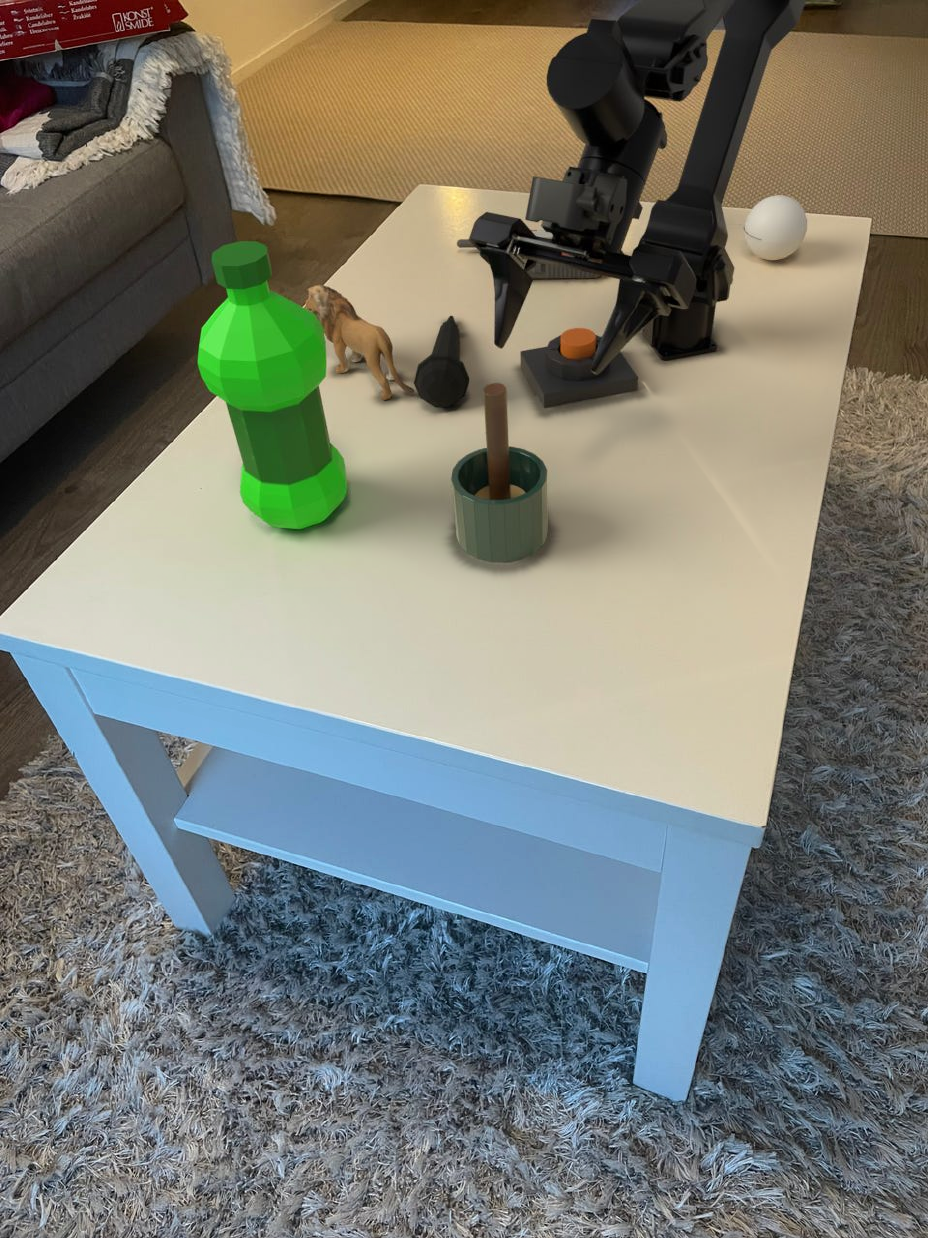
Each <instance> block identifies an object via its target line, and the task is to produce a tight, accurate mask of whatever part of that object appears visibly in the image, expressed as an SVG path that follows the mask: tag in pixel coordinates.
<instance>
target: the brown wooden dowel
mask: <svg viewBox="0 0 928 1238" xmlns="http://www.w3.org/2000/svg"><path fill="white" fill-rule="evenodd" d="M482 393H483V407H484V409H483V410H484V424H485V441H486V448H487V460H488V477H489V486H487V487H484V488H482V489H481V490H479V491H478V492H477V493H476V494H475V496H476V497H478V498H483V499H488V500H505V499H510V498H515V497H518V496H520V495H522V494H525V491H524V490H522V489H521V488H519V487H517V486H515V485H511V484H510V465H509V446H510V444H509V442H510V441H509V419H508V417H509V415H508V393H507V387H506V386H505V385H504V383H503V384H502V383H500V382H492V383H489V384H488V383H487V384H486V385H485V386H484V387H483V389H482Z"/></svg>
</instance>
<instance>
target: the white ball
mask: <svg viewBox="0 0 928 1238" xmlns="http://www.w3.org/2000/svg"><path fill="white" fill-rule="evenodd" d="M734 226H737V224H730V225H727V224H726V227H734ZM739 226H742V223H741V224H740V223H739ZM743 231H744V241H745V244H746V245H747V248H748V249H749V250H750V251H751V252H752V253H753V254H754V255H755V256H756V257H758V258H759V259H763V260H767V261H777V260H782V259H783V260H784V259H786V258H787V257H789V256H790V255H792V254H793V253H794V252H797V250H798V249H799V247H800V246H801V245H802V243H803V242H804V239H805V237H806V234H807V232H808V217H807V215H806V212H805V209H804V207H803V206H802V205H801V203H799V202H798V200H796V199H794V198H793V197H790V196H787V195H783V194H777V195H776V194H775V195H771V196H768V197H765V198H764V199H762V200H761V201H759V202H757V204H755V205H754V206H753V208H751V210H750V212H749V213H748V215H747V216H746V220H745V222H744V226H743Z"/></svg>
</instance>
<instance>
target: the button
mask: <svg viewBox="0 0 928 1238" xmlns="http://www.w3.org/2000/svg"><path fill="white" fill-rule="evenodd" d="M560 335H561V355H562V356H564V357H566V358H570V359H584V358H589V357H591V356H593V355H594V354H595V352H596V335H597V334H596V333H595V332H594V331H593V330H591V329H589V328H585V327H584V328H583V327H574V328H573V327H572V328H570V329H569V328H568V329H567V330H565V331H564V332H562V333H561V334H560Z"/></svg>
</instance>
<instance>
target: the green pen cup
mask: <svg viewBox="0 0 928 1238" xmlns="http://www.w3.org/2000/svg"><path fill="white" fill-rule="evenodd" d="M509 465H510V484H511V485H515V486H517V487H519V488H521V489H522V490H524V491H525V494H522V495H520V496H518V497H515V498H510V499H505V500H488V499H483V498H478V497H476V496H475V494H476V493H477V492H478V491H479V490H481V489H482V488H484V487H487V486H489V477H488V460H487V447H483V448H479V449H477V450H474V451H472V452H470V453H468V454H466V455H464V456H463V457H462V458H460V459H459V460H458V461H457V462H456V464H455V465H454V466H453V469H452V471H451V477H450V481H451V482H450V483H451V493H452V503H453V504H452V505H453V513H454V514H453V515H454V524H455V525H454V526H455V534H456V535H455V536H456V540H457V542H458V544H459V547H460V548H461V549H462V550H463V551H464V552H465V553H466V554H467V555H469V556H471V557H473V558H475V559H477V560H480V561H483V562H489V563H492V564H493V563H497V564H498V563H499V564H500V563H502V564H503V563H505V564H506V563H513V562H517V561H521V560H524V559H526V558H528V557H531V556H533V555H534V554H535V553H536V552H538V551H539V550H540V549H541V548H542V547H543V546H544V544H545V542H546V540H547V538H548V533H549V532H548V530H549V528H548V527H549V522H548V521H549V519H548V518H549V517H548V515H549V514H548V513H549V511H548V509H549V508H548V468H547V467H546V465H545V462H544V461H543V460H542V458H540V457H539V456H537V454H535V453H533V452H531V451H529V450H527V449H525V448H522V447H516V446H510V445H509Z"/></svg>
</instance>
